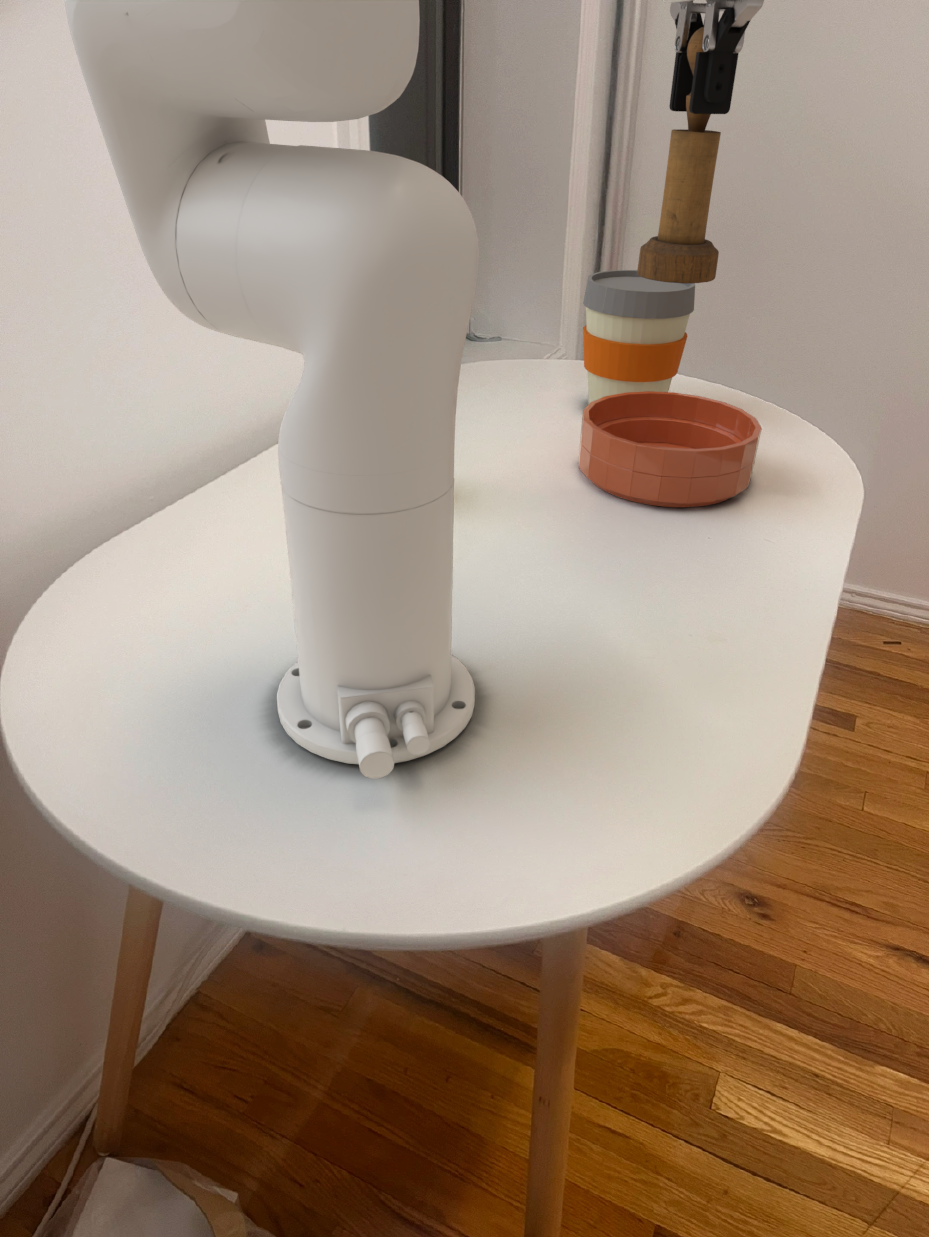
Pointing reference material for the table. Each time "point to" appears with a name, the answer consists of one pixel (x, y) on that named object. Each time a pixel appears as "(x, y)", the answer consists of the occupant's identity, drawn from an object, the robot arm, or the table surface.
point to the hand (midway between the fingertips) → (698, 110)
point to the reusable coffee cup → (633, 332)
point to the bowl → (668, 448)
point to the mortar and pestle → (685, 201)
